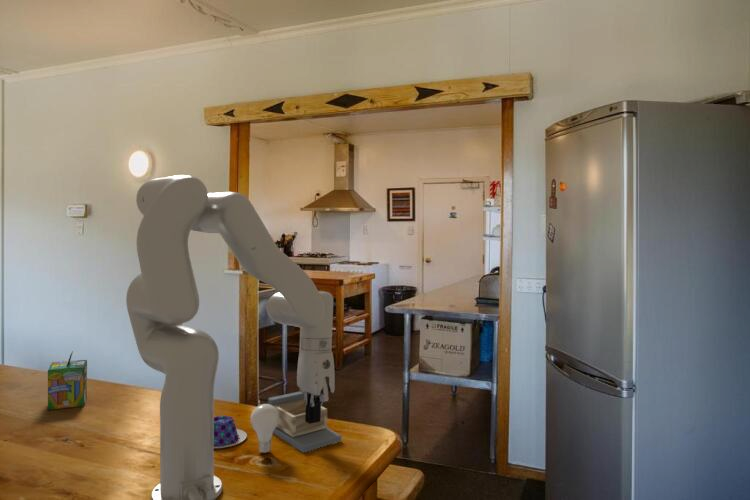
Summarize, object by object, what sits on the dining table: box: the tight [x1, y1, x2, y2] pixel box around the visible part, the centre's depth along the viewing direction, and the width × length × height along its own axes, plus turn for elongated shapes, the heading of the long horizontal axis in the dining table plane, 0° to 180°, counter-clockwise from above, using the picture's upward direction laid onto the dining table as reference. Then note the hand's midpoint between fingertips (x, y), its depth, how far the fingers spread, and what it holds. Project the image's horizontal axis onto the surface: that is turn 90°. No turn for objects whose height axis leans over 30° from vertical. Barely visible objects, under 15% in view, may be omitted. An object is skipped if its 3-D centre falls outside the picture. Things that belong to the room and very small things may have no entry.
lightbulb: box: [250, 403, 279, 454], centre depth 115 cm, size 6×6×11 cm
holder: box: [274, 399, 328, 437], centre depth 127 cm, size 10×10×5 cm
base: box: [267, 390, 342, 454], centre depth 125 cm, size 18×10×8 cm, turn 39°
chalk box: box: [47, 351, 88, 411], centre depth 146 cm, size 9×9×15 cm
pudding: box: [214, 415, 248, 449], centre depth 123 cm, size 12×12×5 cm
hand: (312, 421), depth 120 cm, fingers closed
